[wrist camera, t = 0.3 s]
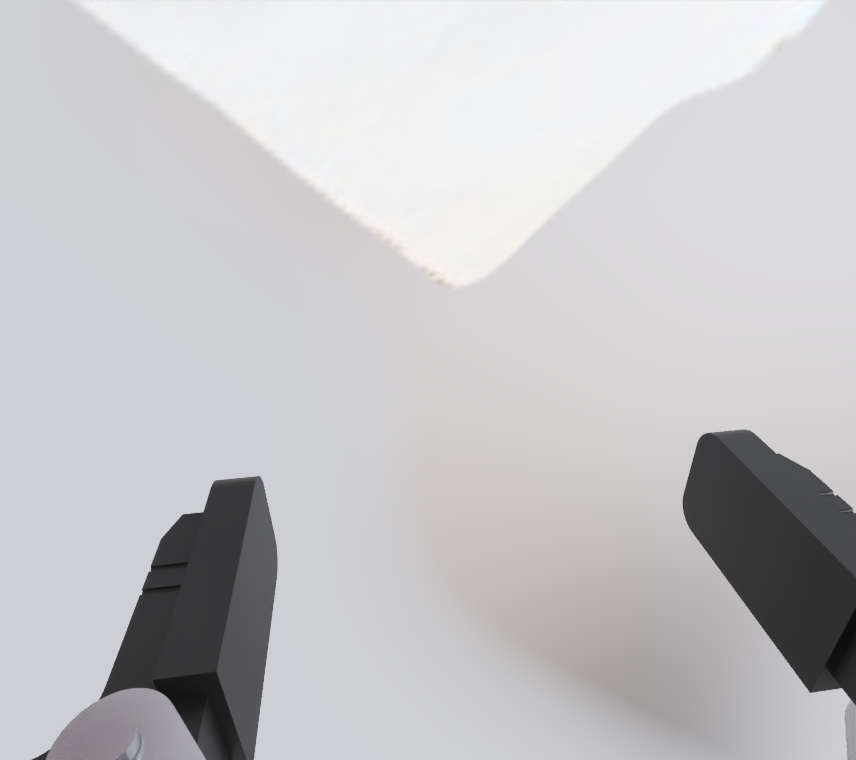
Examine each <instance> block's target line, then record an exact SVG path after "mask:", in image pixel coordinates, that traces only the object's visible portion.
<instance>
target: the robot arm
mask: <svg viewBox="0 0 856 760" xmlns="http://www.w3.org/2000/svg"><path fill="white" fill-rule="evenodd" d="M683 510H684V515H685V518H686V521H687V524H688V526H689V528H690V529H691V531H692V532H693V533H694V535H695V536H696V538H697V539H698V540H699V542H700V543H701V544H702V546H703V547H704V549H705V550H706V551H707V553H708V554H709V555H710V557H711V558H712V560H713V561H714V562H715V564H716V565H717V566H718V568H719V569H720V570H721V572H722V573H723V574H724V576H725V577H726V579H727V580H728V581H729V583H730V584H731V585H732V586H733V588H734V589H735V591H736V592H737V593H738V595H739V596H740V598H741V599H742V600H743V602H744V603H745V604H746V606H747V607H748V609H749V610H750V611H751V613H752V614H753V615H754V617H755V618H756V619H757V621H758V622H759V624H760V625H761V626H762V628H763V629H764V630H765V632H766V633H767V634H768V636H769V637H770V639H771V640H772V641H773V642H774V644H775V645H776V647H777V648H778V649H779V651H780V652H781V653H782V655H783V656H784V658H785V659H786V660H787V662H788V663H789V664H790V666H791V667H792V668H793V670H794V671H795V673H796V674H797V675H798V677H799V678H800V679H801V681H802V682H803V684H804V685H805V686H806V688H807V689H808V690H809V692H810V693H811V692H818V691H825V690H832V689H838V688H843V690H844V691H845V692H846V693H847V695H848V696H849V697H850V699H851V700H850V702H849V704H848V705H847V708H846V711H845V724H846V741H847V758H848V760H856V513H853V508H851V507H850V506H849V505H848V504H847V503H846V502H845V501H844V500H842V499H841V498H840V497H839V496H838V495H837V496H834V494H833V491H832V490H831V489H830V488H829V487H828V486H827V485H826V484H825V483H823V482H822V481H821V480H820V479H819V478H818V477H816V476H815V475H814V474H813V473H812V472H811V471H810V470H808V469H806V468H804V467H803V466H801V465H799V464H797V463H795V462H793V461H792V460H790V459H788V458H786V457H784V456H782V455H780V454H776V453H775V452H774V451H773V450H771V448H769V447H768V446H767V445H766V444H765V443H764V442H763V441H762V440H761V439H759V437H757V436H756V435H755V434H754V433H753V432H751V431H749V430H735V431H725V432H715V433H706V434H704V435H702V436H701V437H700V439H699V441H698V443H697V447H696V451H695V454H694V458H693V462H692V466H691V469H690V473H689V477H688V480H687V484H686V488H685V492H684V496H683ZM276 579H277V547H276V541H275V535H274V531H273V526H272V522H271V517H270V512H269V508H268V503H267V498H266V494H265V489H264V485H263V481H262V479H261V477H259V476H257V477H247V478H237V479H226V480H216V481H214V483H213V485H212V487H211V490H210V493H209V496H208V500H207V503H206V506H205V510H204V512H203V513H194V514H183V515H182V516H181V517H180V518H179V520H178V521H177V522H176V523H175V524H174V525H173V526H172V527H171V529H170V530H169V531H168V532H167V533H166V534H165V536H163V538H162V539H161V541H160V544H159V547H158V549H157V552H156V554H155V557H154V560H153V562H152V565H151V572H149V573H148V576H147V578H146V581H145V583H144V586H143V589H142V590H143V593H142V595H140V597H139V600H138V602H137V605H136V607H135V610H134V613H133V615H132V618H131V621H130V623H129V626H128V628H127V632H126V634H125V637H124V640H123V642H122V644H121V647H120V650H119V652H118V655H117V658H116V660H115V663H114V666H113V668H112V671H111V674H110V676H109V679H108V682H107V684H106V687H105V689H104V692H103V693H102V696H101V697H100V699H99V700H98V701H97V702H95V703H93V704H91V705H90V706H89V707H88V708H86V709H85V710H84V711H82V712H81V713H80V714H79V715H77V716H76V717H75V718H74V719H73V720H72V721H71V722H70V723H69V724H68V725H67V726H66V728H65V729H64V730H63V731H62V732H61V734H60V735H59V736H58V738H57V739H56V741H55V742H54V744H53V746H52V747H51V749H50V750H48V751H47V752H46V753H44V754H42V755H40V756H39V757H37V758H35V759H32V760H253V759H254V752H255V745H256V736H257V729H258V721H259V713H260V705H261V697H262V690H263V682H264V674H265V666H266V658H267V650H268V642H269V634H270V626H271V619H272V611H273V603H274V595H275V587H276Z"/></svg>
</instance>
